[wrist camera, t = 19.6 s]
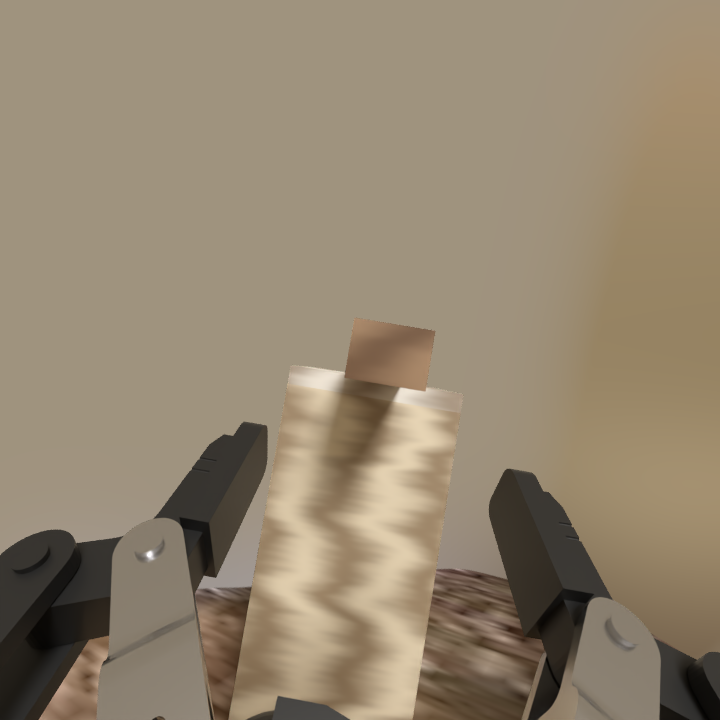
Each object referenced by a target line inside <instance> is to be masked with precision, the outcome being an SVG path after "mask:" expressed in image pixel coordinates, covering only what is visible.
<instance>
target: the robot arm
mask: <svg viewBox="0 0 720 720" xmlns="http://www.w3.org/2000/svg"><path fill="white" fill-rule="evenodd" d="M266 465H267V426H266V425H261V424H255V423H249V422H243V423H242V424H241V425H240V427H239V428H238V430H237V431H236V433H235V434H234V436H230V435H223V436H221V437H220V438H218V439H217V440H215V441H214V442H213V443H211V444H210V445H209V446H208V447H207V449H206V450H205V451H204V453H203V454H202V455H201V457H200V459H199V460H198V461H197V462H196V464H195V465H194V466H193V467H192V470H191V471H190V472H189V473H188V474H187V476H186V477H185V478H184V480H183V481H182V482H181V484H180V485H179V486H178V488H177V489H176V490H175V492H174V493H173V495H172V496H171V497H170V498H169V500H168V501H167V503H166V504H165V505H164V507H163V508H162V509H161V511H160V512H159V513H158V514H157V516H156V517H155V518H154V519H152V520H148V521H146V522H143V523H141V524H139V525H137V526H136V527H134V528H133V529H131V530H130V531H129V532H128V533H126V534H125V535H124V536H122V537H118V538H112V539H105V540H97V541H90V542H82V543H76V542H75V540H74V538H73V536H72V535H71V534H70V533H69V532H66V531H63V530H47V531H43V532H39V533H36V534H33V535H31V536H29V537H26V538H24V539H22V540H20V541H19V542H17V543H15V544H14V545H12V546H11V547H9V548H8V549H7V550H5V551H4V552H3V553H2V554H1V555H0V720H39V718H40V716H41V715H42V713H43V712H44V710H45V708H46V707H47V705H48V704H49V702H50V701H51V699H52V697H53V696H54V694H55V693H56V691H57V689H58V688H59V686H60V685H61V683H62V682H63V680H64V678H65V677H66V675H67V674H68V672H69V671H70V669H71V667H72V666H73V664H74V663H75V661H76V659H77V658H78V656H79V655H80V653H81V652H82V650H83V648H84V647H85V645H86V644H87V642H88V640H90V639H94V638H99V637H104V636H109V651H108V657H107V659H106V660H105V661H104V662H103V664H102V667H101V671H100V676H99V686H98V703H97V720H215V719H214V712H213V706H212V700H211V694H210V688H209V682H208V676H207V670H206V663H205V657H204V650H203V644H202V637H201V631H200V624H199V617H198V611H197V604H196V598H195V592H196V590H197V588H198V586H199V584H200V582H201V580H202V578H203V576H209V577H215V578H216V577H217V574H218V572H219V570H220V568H221V566H222V564H223V562H224V559H225V557H226V555H227V553H228V551H229V549H230V547H231V544H232V542H233V540H234V538H235V536H236V534H237V532H238V529H239V527H240V525H241V523H242V521H243V519H244V517H245V514H246V512H247V510H248V508H249V506H250V504H251V502H252V499H253V497H254V495H255V493H256V491H257V489H258V487H259V484H260V482H261V480H262V478H263V475H264V473H265V469H266ZM489 517H490V521H491V524H492V528H493V531H494V534H495V538H496V541H497V544H498V548H499V551H500V555H501V558H502V562H503V565H504V568H505V571H506V575H507V578H508V582H509V585H510V589H511V592H512V595H513V599H514V602H515V605H516V609H517V612H518V616H519V619H520V622H521V626H522V629H523V633H524V636H525V637H531V638H536V639H541V640H542V643H543V646H544V649H545V652H544V653H543V654H542V656H541V658H540V662H539V665H538V668H537V671H536V675H535V678H534V681H533V684H532V688H531V691H530V694H529V697H528V700H527V704H526V707H525V710H524V713H523V717H522V720H720V653H718V652H709V653H707V654H705V655H704V656H702V657H701V658H699V659H698V660H696V659H694V658H692V657H690V656H688V655H686V654H684V653H682V652H680V651H678V650H676V649H674V648H672V647H670V646H668V645H666V644H664V643H662V642H660V641H658V640H656V639H654V638H653V636H652V635H651V633H650V632H649V630H648V629H647V628H646V627H645V625H644V624H643V623H642V622H641V621H640V620H639V619H638V618H637V617H636V616H635V615H634V614H633V613H632V612H630V611H629V610H628V609H627V608H626V607H624V606H622V605H621V604H619V603H617V602H615V601H614V600H612V598H611V596H610V594H609V592H608V591H607V589H606V587H605V585H604V583H603V582H602V580H601V578H600V576H599V574H598V572H597V570H596V568H595V566H594V565H593V563H592V561H591V559H590V557H589V555H588V553H587V552H586V550H585V548H584V546H583V544H582V542H580V541H579V537H578V535H577V533H576V531H575V529H574V528H573V527H571V525H572V524H571V522H570V520H569V518H568V517H567V515H566V513H565V511H564V509H563V507H562V506H561V505H560V504H559V503H558V502H557V501H556V500H555V499H554V498H553V497H552V496H551V494H550V493H549V492H543V490H542V488H541V486H540V484H539V482H538V480H537V478H536V476H535V475H534V474H533V473H530V472H525V471H519V470H514V469H506V470H505V471H504V473H503V475H502V477H501V479H500V481H499V483H498V485H497V487H496V489H495V491H494V494H493V495H492V497H491V500H490V504H489ZM246 720H350V719H348V718H347V717H345V716H344V715H342V714H340V713H339V712H337V711H335V710H334V709H332V708H330V707H329V706H327V705H324V704H318V703H313V702H308V701H303V700H297V699H292V698H287V697H282V696H278V697H277V701H276V705H275V709H274V710H272V711H267V712H263V713H260V714H258V715H255V716H252V717H250V718H248V719H246Z"/></svg>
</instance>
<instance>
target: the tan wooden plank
mask: <svg viewBox="0 0 720 720" xmlns="http://www.w3.org/2000/svg"><path fill="white" fill-rule="evenodd" d="M434 336H435V331H432V330H426V329H420V328H414V327H408V326H402V325H396V324H390V323H384V322H378V321H371V320H366V319H360V318H355V319H354V324H353V330H352V336H351V342H350V347H349V353H348V359H347V365H346V371H345V377H344V378H348V379H354V380H359V381H365V382H371V383H377V384H383V385H389V386H395V387H401V388H407V389H413V390H418V391H424V392H426V385H427V379H428V373H429V367H430V361H431V354H432V348H433V342H434Z"/></svg>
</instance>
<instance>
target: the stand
mask: <svg viewBox="0 0 720 720" xmlns="http://www.w3.org/2000/svg"><path fill="white" fill-rule="evenodd" d="M344 377H345V372H341V371H335V370H329V369H323V368H316V367H305V366H294V365H291V368H290V373H289V379H288V385H287V391H286V397H285V402H284V408H283V413H282V419H281V424H280V430H279V436H278V441H277V447H276V453H275V458H274V464H273V470H272V475H271V482H270V487H269V492H268V498H267V504H266V509H265V516H264V521H263V527H262V532H261V538H260V543H259V549H258V555H257V560H256V566H255V572H254V577H253V583H252V589H251V594H250V600H249V606H248V611H247V617H246V623H245V628H244V634H243V640H242V645H241V651H240V657H239V662H238V668H237V674H236V679H235V685H234V691H233V696H232V702H231V708H230V713H229V719H228V720H246V719H248V718H250V717H252V716H255V715H258V714H260V713H263V712H267V711H272V710H274V709H275V705H276V701H277V697H278V696H282V697H287V698H292V699H297V700H303V701H308V702H313V703H318V704H324V705H327V706H329V707H330V708H332V709H334V710H335V711H337V712H339V713H340V714H342V715H344V716H345V717H347V718H348V719H350V720H412V719H413V713H414V707H415V700H416V694H417V688H418V681H419V675H420V668H421V662H422V656H423V649H424V643H425V637H426V630H427V624H428V617H429V611H430V605H431V598H432V592H433V586H434V579H435V573H436V566H437V560H438V554H439V547H440V541H441V534H442V528H443V521H444V515H445V509H446V503H447V496H448V490H449V483H450V477H451V471H452V464H453V458H454V452H455V446H456V439H457V433H458V426H459V420H460V413H461V407H462V400H463V394H459V393H455V392H450V391H446V390H442V389H437V388H433V387H429V386H426V392H424V391H418V390H413V389H407V388H401V387H395V386H389V385H383V384H377V383H371V382H365V381H359V380H354V379H348V378H344Z"/></svg>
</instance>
